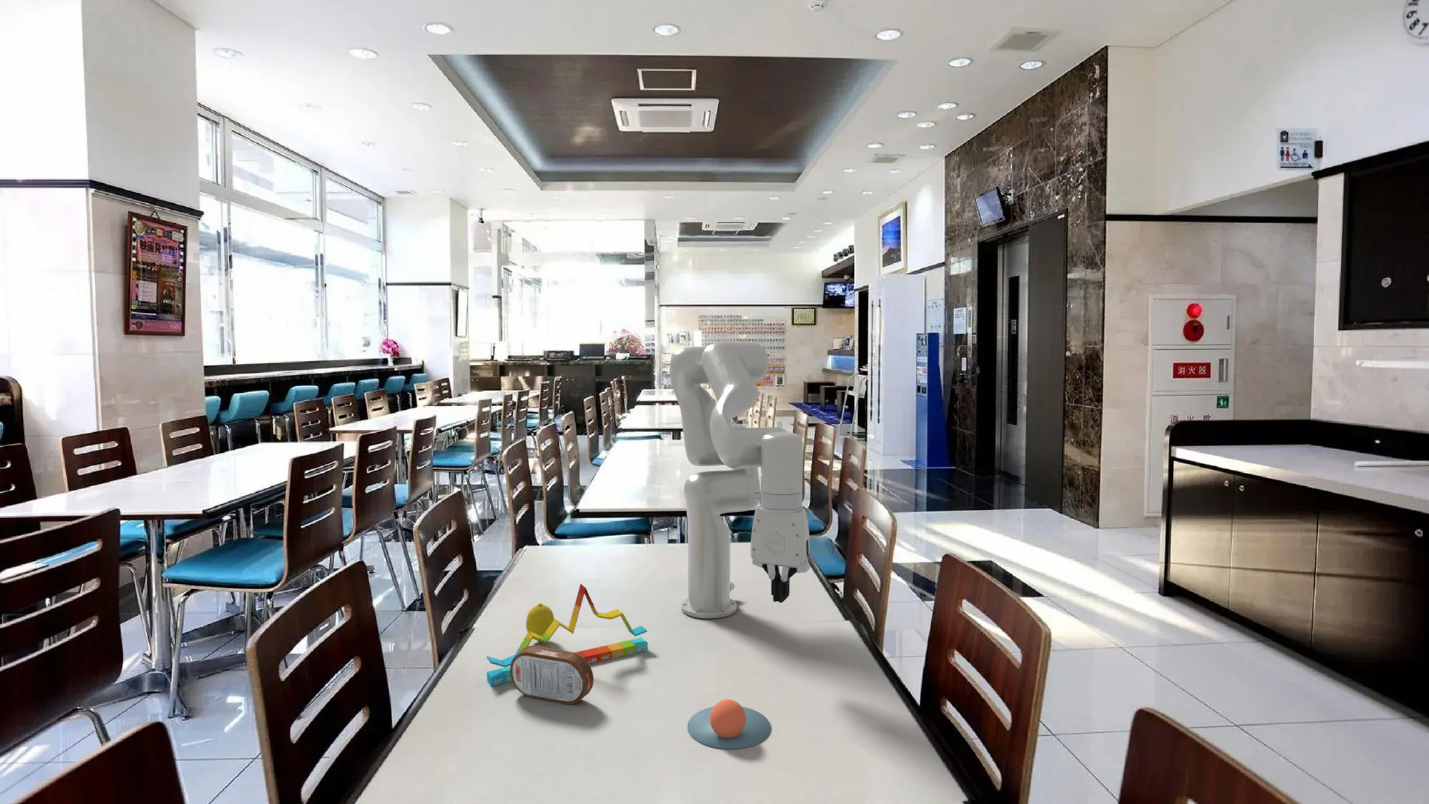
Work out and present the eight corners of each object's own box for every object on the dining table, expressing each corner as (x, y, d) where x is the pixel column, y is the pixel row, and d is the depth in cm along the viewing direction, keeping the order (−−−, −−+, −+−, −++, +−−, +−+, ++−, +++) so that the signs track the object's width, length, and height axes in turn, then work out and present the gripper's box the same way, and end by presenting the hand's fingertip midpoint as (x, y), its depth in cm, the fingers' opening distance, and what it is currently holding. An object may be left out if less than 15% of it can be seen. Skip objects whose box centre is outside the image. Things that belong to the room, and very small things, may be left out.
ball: (702, 715, 109) (707, 742, 111) (736, 722, 107) (741, 749, 109) (715, 688, 114) (719, 715, 116) (748, 694, 112) (752, 721, 114)
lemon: (547, 648, 144) (547, 609, 143) (521, 646, 145) (521, 607, 145) (559, 638, 149) (558, 599, 149) (533, 635, 150) (533, 597, 150)
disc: (710, 699, 123) (710, 698, 123) (782, 717, 118) (782, 716, 117) (672, 736, 112) (672, 735, 112) (750, 757, 106) (750, 756, 106)
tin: (594, 701, 123) (594, 652, 122) (585, 710, 120) (585, 660, 119) (518, 687, 128) (517, 640, 127) (507, 695, 125) (506, 647, 124)
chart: (491, 688, 128) (490, 605, 127) (487, 681, 130) (485, 599, 129) (648, 652, 143) (648, 577, 142) (641, 646, 146) (641, 573, 145)
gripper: (735, 500, 132) (734, 600, 133) (814, 509, 125) (812, 613, 127) (751, 493, 139) (750, 588, 140) (827, 501, 132) (825, 600, 133)
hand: (780, 599), depth 133 cm, fingers closed
